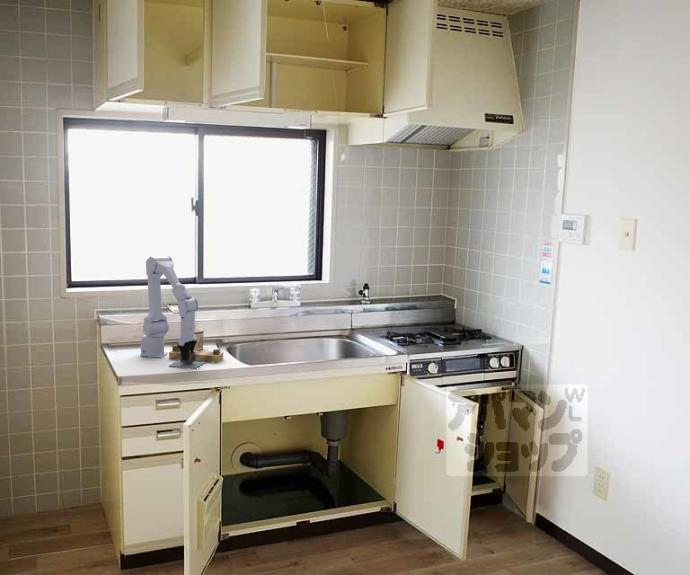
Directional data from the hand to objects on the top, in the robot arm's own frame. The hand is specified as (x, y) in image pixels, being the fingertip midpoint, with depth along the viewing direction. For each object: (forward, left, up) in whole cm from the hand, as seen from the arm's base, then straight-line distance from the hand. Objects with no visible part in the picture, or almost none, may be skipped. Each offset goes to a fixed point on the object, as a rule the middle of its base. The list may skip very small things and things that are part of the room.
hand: (187, 358), depth 301 cm
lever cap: (0, 0, -1) cm, 1 cm away
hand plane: (0, +11, -3) cm, 11 cm away
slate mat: (0, 0, -3) cm, 3 cm away
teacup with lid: (-8, +30, -3) cm, 31 cm away
